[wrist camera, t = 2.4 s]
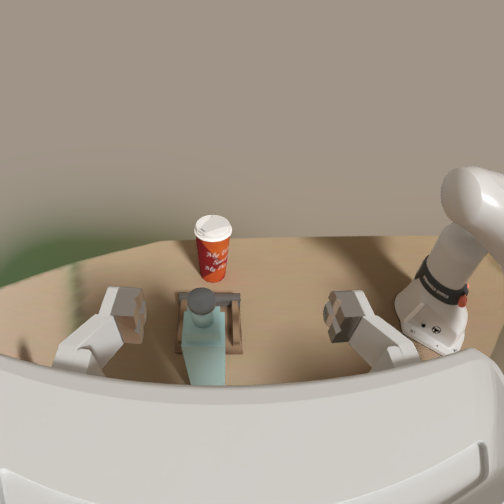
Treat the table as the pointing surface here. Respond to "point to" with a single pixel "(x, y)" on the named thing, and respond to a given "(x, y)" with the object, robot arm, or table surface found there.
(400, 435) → the robot arm
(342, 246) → the table surface
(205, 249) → the paper cup
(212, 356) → the bottle
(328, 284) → the table surface
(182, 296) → the brown square frame
